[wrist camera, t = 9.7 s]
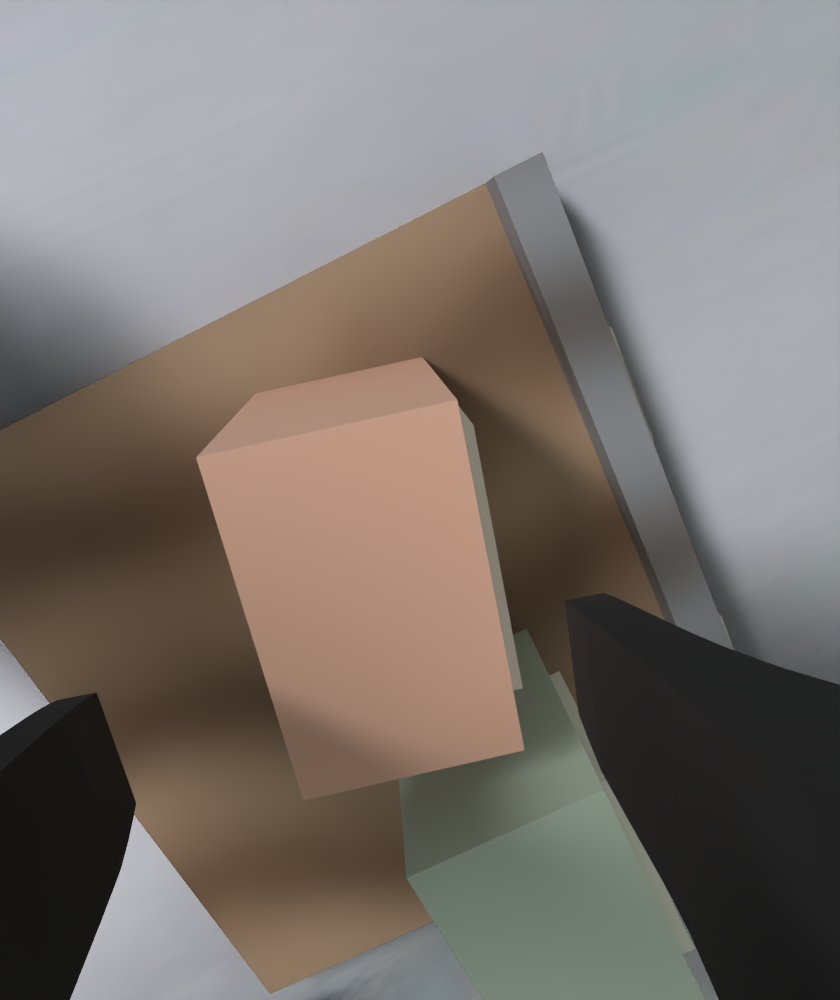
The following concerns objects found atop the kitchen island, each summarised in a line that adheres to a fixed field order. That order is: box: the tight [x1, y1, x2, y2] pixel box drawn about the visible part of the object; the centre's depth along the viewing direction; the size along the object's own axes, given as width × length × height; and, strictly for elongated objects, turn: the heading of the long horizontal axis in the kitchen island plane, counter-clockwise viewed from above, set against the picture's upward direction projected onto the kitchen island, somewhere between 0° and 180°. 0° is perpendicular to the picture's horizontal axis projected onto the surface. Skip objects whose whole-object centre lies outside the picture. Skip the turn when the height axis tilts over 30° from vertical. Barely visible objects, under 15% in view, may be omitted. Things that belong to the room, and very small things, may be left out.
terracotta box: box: [196, 357, 525, 801], centre depth 16 cm, size 5×7×7 cm
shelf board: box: [0, 153, 734, 994], centre depth 21 cm, size 20×18×2 cm
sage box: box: [399, 628, 705, 1000], centre depth 19 cm, size 5×7×7 cm
